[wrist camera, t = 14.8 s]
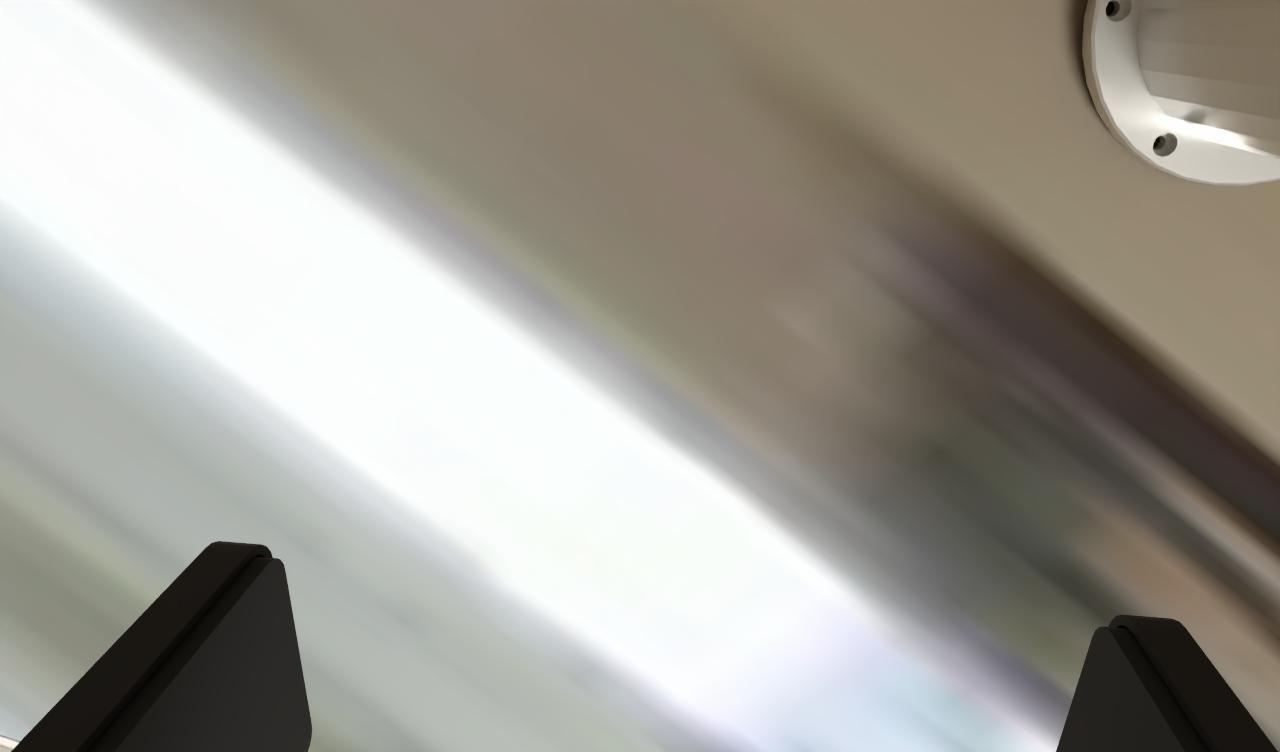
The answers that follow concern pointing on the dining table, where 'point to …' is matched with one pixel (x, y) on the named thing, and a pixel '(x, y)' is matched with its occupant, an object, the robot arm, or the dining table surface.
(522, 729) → the dining table surface
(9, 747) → the birthday cake
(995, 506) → the dining table surface
